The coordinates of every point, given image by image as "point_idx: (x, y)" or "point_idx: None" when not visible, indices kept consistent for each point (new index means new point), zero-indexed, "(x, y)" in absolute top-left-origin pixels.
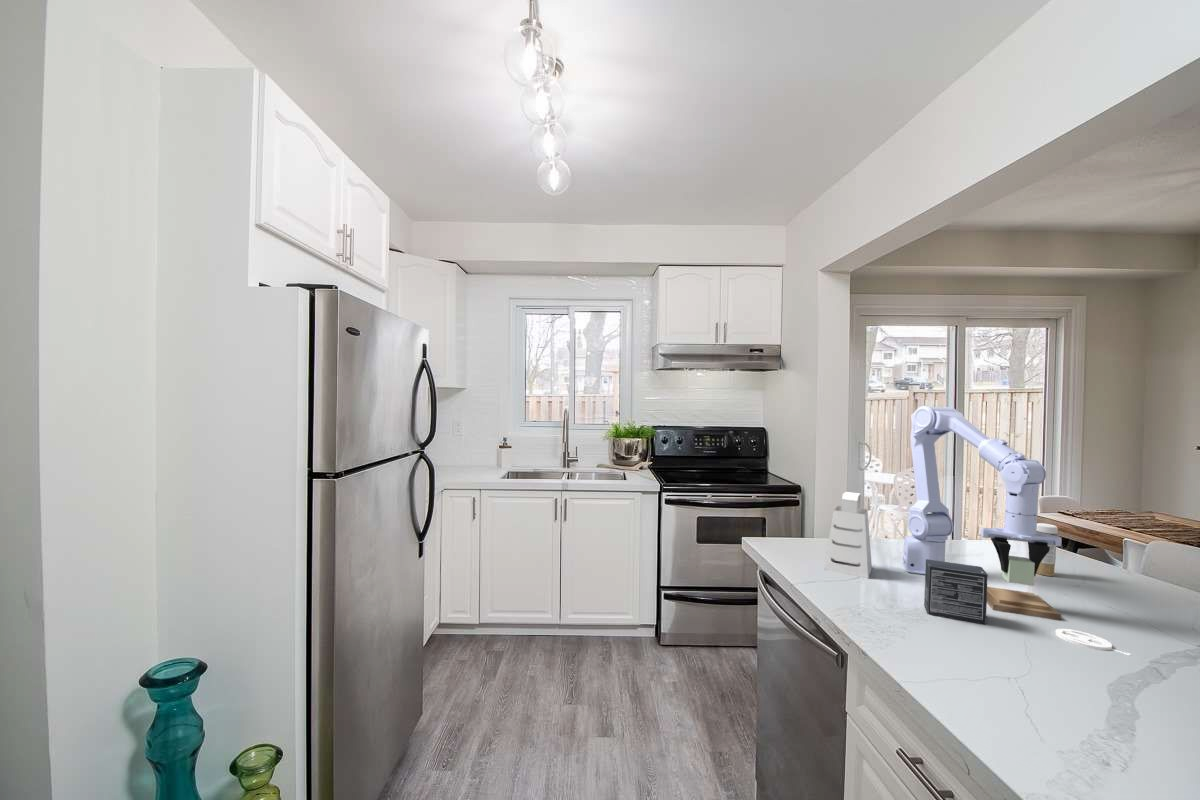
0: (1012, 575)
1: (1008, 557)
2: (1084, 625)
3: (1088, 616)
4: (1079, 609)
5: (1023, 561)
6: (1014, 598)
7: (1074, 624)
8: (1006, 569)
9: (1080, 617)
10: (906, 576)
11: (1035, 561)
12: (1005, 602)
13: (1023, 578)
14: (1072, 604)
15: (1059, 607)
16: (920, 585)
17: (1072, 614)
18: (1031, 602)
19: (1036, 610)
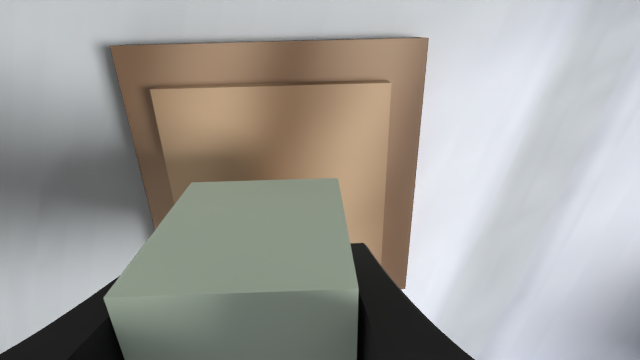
0: (320, 203)
1: (371, 329)
2: (27, 23)
3: (7, 179)
4: (37, 254)
5: (215, 310)
6: (301, 149)
7: (70, 11)
8: (356, 253)
9: (38, 146)
10: (626, 327)
11: (84, 333)
12: (360, 81)
13: (245, 201)
14: (58, 301)
15: (109, 239)
16: (626, 242)
17: (67, 171)
18: (228, 124)
19: (222, 50)
